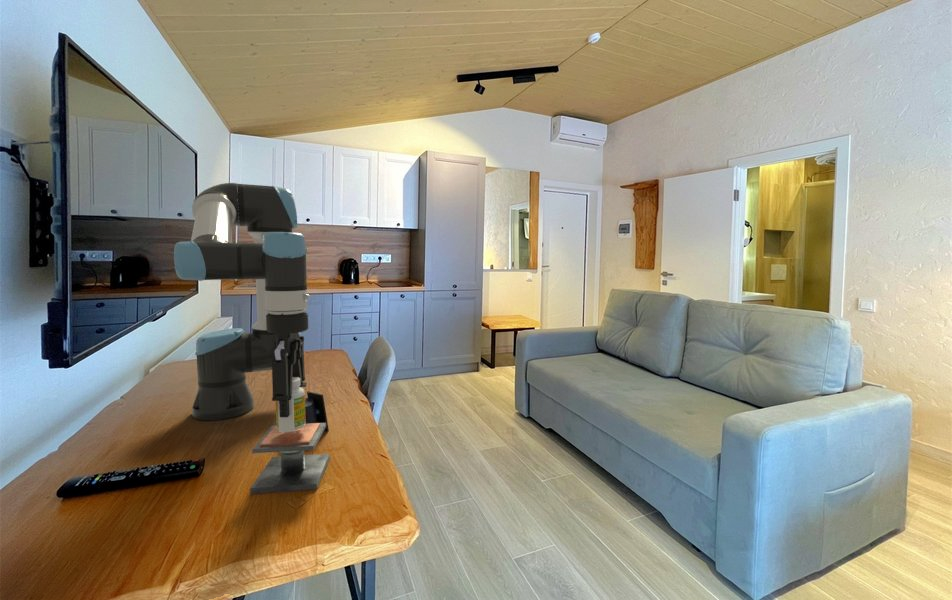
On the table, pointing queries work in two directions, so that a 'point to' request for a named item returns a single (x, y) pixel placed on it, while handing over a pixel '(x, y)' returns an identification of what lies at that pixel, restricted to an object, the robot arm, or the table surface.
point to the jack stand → (291, 460)
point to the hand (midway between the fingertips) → (291, 424)
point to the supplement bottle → (296, 404)
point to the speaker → (315, 409)
